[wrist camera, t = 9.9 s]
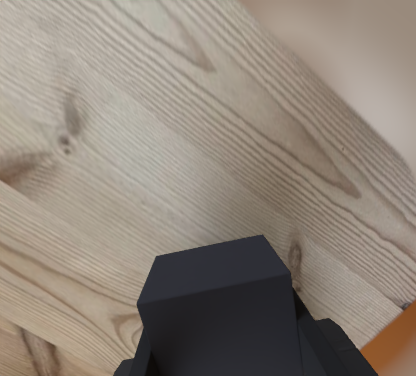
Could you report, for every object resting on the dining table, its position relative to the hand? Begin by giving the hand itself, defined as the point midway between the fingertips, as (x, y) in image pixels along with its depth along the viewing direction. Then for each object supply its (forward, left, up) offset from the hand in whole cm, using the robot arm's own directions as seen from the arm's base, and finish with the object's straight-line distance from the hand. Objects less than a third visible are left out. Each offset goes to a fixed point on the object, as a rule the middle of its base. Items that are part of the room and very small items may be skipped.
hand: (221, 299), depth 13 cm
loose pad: (0, +1, 0) cm, 1 cm away
